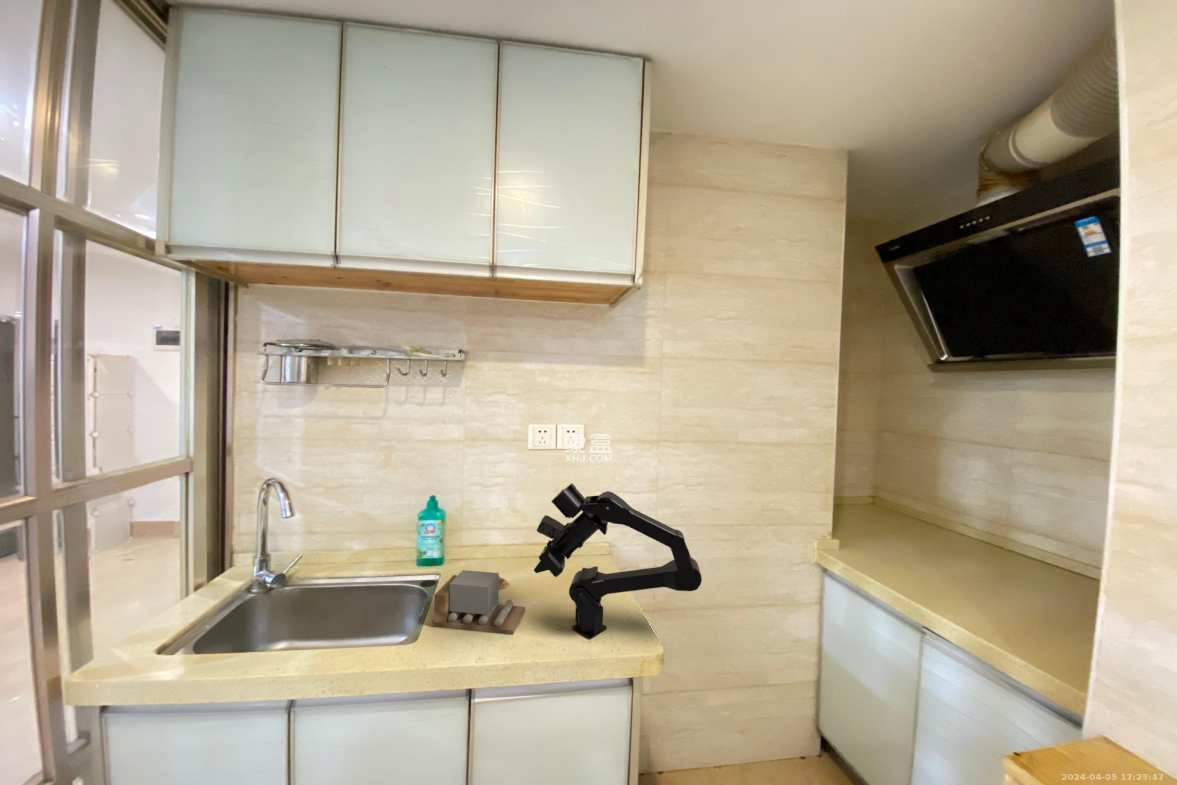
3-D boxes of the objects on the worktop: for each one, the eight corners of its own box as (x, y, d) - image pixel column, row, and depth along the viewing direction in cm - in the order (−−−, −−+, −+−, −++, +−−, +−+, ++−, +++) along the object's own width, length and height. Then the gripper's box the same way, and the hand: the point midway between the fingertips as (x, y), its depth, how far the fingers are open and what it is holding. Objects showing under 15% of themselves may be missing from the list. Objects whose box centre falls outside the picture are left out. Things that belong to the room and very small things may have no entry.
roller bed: (525, 611, 118) (525, 581, 118) (512, 634, 107) (513, 601, 107) (450, 604, 121) (451, 574, 120) (431, 626, 110) (431, 594, 110)
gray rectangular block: (498, 598, 117) (498, 573, 117) (487, 614, 109) (488, 587, 109) (462, 595, 119) (462, 570, 118) (449, 611, 111) (449, 583, 110)
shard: (480, 601, 124) (480, 594, 124) (464, 591, 129) (464, 585, 129) (510, 587, 132) (510, 582, 132) (495, 579, 137) (495, 574, 137)
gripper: (564, 497, 120) (524, 534, 121) (548, 518, 101) (501, 562, 103) (592, 528, 119) (551, 565, 121) (581, 555, 100) (533, 598, 102)
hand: (535, 571), depth 112 cm, fingers closed
